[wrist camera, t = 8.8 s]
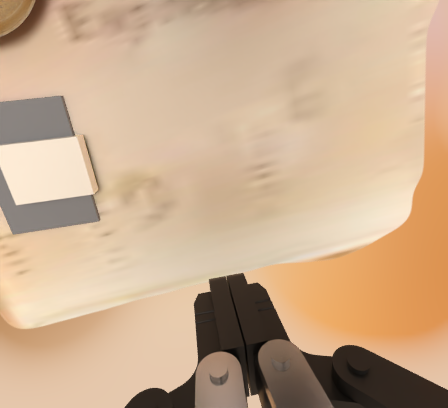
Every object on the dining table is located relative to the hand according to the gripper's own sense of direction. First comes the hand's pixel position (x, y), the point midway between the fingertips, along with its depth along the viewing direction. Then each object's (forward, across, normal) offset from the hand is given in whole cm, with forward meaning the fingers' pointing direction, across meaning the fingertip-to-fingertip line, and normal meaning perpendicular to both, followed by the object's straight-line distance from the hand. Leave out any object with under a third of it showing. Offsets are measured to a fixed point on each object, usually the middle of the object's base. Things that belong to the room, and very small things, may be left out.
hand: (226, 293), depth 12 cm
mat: (+27, +20, -2) cm, 33 cm away
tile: (+25, +13, -2) cm, 28 cm away
